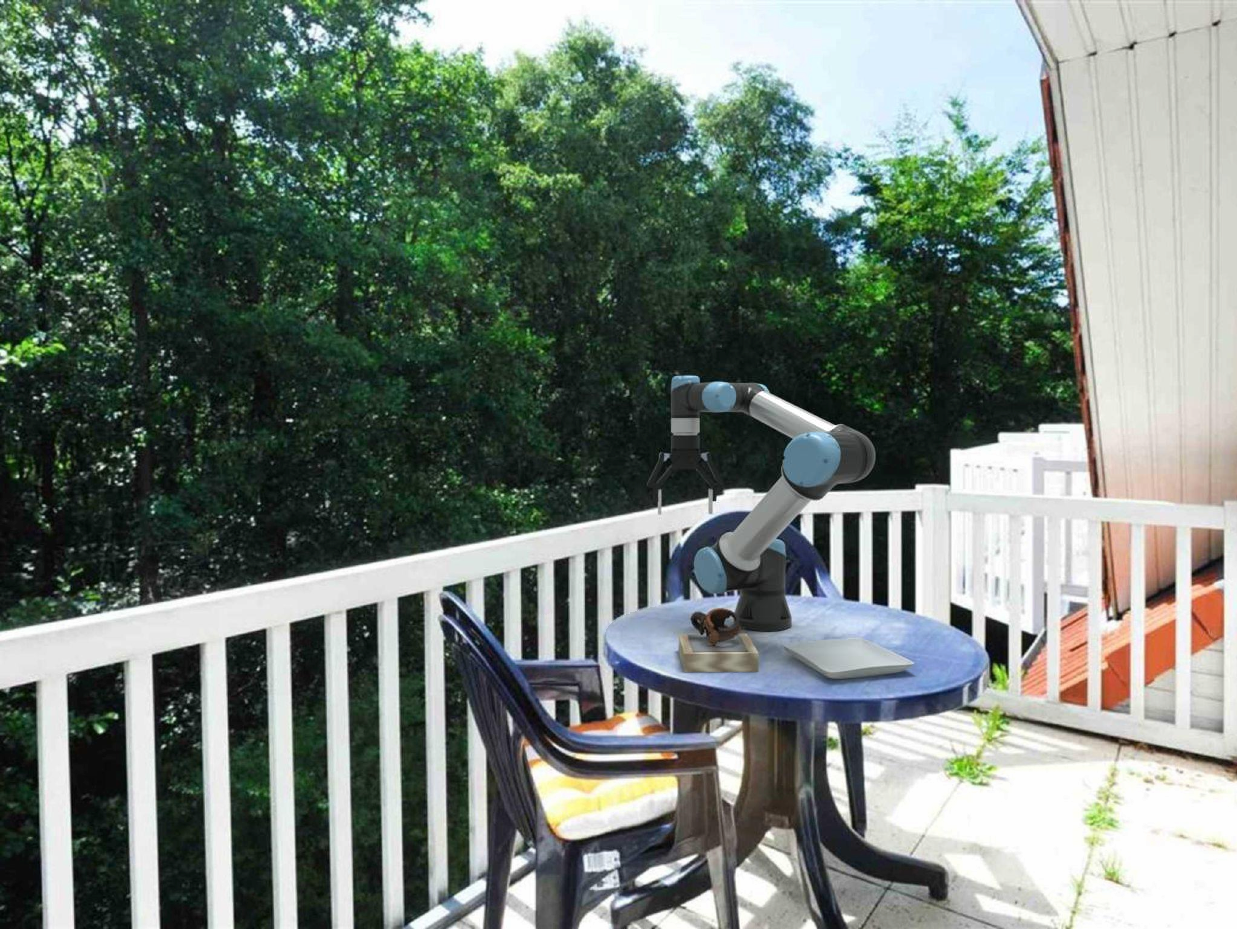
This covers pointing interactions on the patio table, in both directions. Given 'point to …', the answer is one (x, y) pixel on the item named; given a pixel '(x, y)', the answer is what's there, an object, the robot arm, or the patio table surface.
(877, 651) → the salad plate
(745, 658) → the wooden tray
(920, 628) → the patio table surface
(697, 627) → the pottery mug
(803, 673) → the patio table surface
